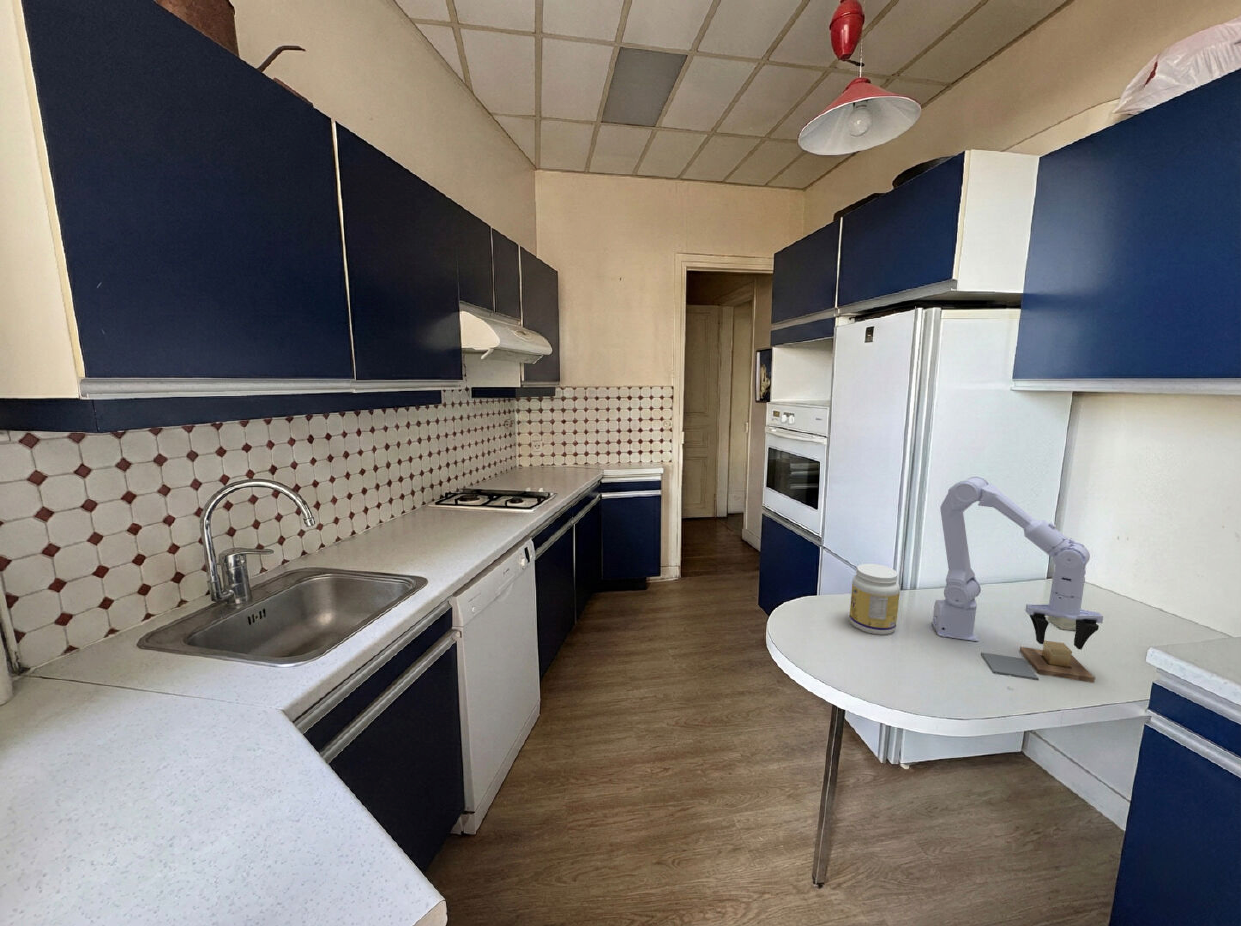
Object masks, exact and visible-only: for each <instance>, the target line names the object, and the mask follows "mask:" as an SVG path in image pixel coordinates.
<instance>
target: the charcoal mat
mask: <svg viewBox="0 0 1241 926" xmlns="http://www.w3.org/2000/svg"><path fill="white" fill-rule="evenodd" d="M980 655H981V656H982V658H983V660H984V661H985V663H986V664H987V666H988V667H989V670H991V672H992V673H993V674H997V675H1003V676H1009V675H1011V676H1010V677H1015V678H1023V679H1029V680H1035V681H1039V677H1038V676H1037V675H1036V673H1035V672H1034V671H1033V669H1032V668H1031V667H1030V665H1028V663H1027V662H1026V661H1025V659H1024V658H1023V657H1017V656H1009V655H1002V654H997V653H996V654H995V653H990V652H984V651H983V652H982V651H981V652H980Z"/></svg>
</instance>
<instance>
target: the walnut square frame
mask: <svg viewBox="0 0 1241 926" xmlns="http://www.w3.org/2000/svg"><path fill="white" fill-rule="evenodd" d="M1019 652H1020V653H1021V655H1022V656H1023V657H1024V658H1025V660H1026V661H1027V662H1028V663H1029V664H1030V665H1032V666H1031V667H1032V668H1033V669H1034V671H1035V670H1036V671H1037V672H1036V671H1035V672H1036V673H1037V674H1038V675H1044V676H1049V675H1050V677H1056V678H1062V679H1063V678H1064V679H1069V680H1073V681H1074V680H1075V681H1082V682H1088V683H1095V678H1096V677H1094V675H1092V674H1091V673H1090V671H1089V670H1088V669H1086V667H1085V666H1084V665H1083V664H1082V663H1081V662H1079V660H1078V659H1077V658H1076V657H1074V656H1073V654H1072V655H1071V661H1070V667H1069V668H1065V667H1058V666H1052V665H1048V664H1047V663H1046V662H1045V661H1044V660H1043V658H1042V652H1043V649H1038V648H1031V647H1024V646H1019Z"/></svg>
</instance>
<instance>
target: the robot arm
mask: <svg viewBox="0 0 1241 926" xmlns="http://www.w3.org/2000/svg"><path fill="white" fill-rule="evenodd" d="M976 502H978V504H977V506H979V507H988V508H994V509H995V510H996V511H998V512H999V513H1000V514H1002V515H1003V516H1005V517H1006V518H1007V519H1009V520H1010V521H1012V522H1013V523H1014V524H1016V525H1017V526H1019V527H1020V528H1022V529H1023V533H1024V537H1025V538H1026V539H1028V540H1029V541H1030V542H1031V543H1032V544H1034V545H1035V546H1037V548H1039V549H1040V550H1042V551H1043V553H1046V554H1047V555H1048V556H1050V557H1052V561H1053V563H1054V565H1055V567H1054V571H1053V572H1052V573H1053V574H1052V580H1051V585H1050V592H1049V593H1050V594H1049V601H1048V604H1030V603H1026V604H1025V613H1026V614H1028V615H1029V617H1030V620H1031V622H1032V625H1033V628H1034V631H1035V639H1036V640H1035V641H1037V642H1038V644H1040V645H1044V641H1045V637H1046V631H1047V628H1048V625H1049V623H1050V621H1049V620H1048V619H1047V617H1048V616H1053V617H1061V618H1066V619H1070V620H1076V630H1075V633H1074V638H1073V639H1074V640H1073V646H1074V647H1076V649H1077V650H1080V651H1081V650H1082V649H1083V648H1084V646H1085V644H1086V643H1087V642H1088V639H1089V638H1090V637H1091V636H1092V635H1093V634H1094V633H1096V632H1097V631H1098V630H1099V627H1100V625H1098V624H1103V620H1104V615H1102V614H1101V613H1100V612H1099V611H1098V612H1097V611H1092V610H1091V611H1090V610H1086V609H1082V603H1081V602H1082V601H1083V595H1084V590H1085V589H1084V588H1085V583H1086V577H1085V575H1086V569H1087V568H1086V566H1087V564H1088V563H1089V561H1090V559H1091V555H1090V554H1091V553H1090V551H1089V550H1088V549H1087V547H1085V545H1084V544H1083V543H1081V542H1076V540H1075V539H1073V538H1068V537H1067V536H1066V535H1064V534H1063V533H1062V532H1061V531H1060V530H1058V529H1057V528H1056V527H1057V525H1056V524H1054V523H1053V522H1052V521H1050V522H1049V523H1048V521H1046V520H1040V519H1039V520H1038V519H1035V518H1033V517H1032V515H1030V514H1028V512H1026V511H1025V510H1024V509H1023V508H1021V507H1020V506H1019V505H1018V504H1017V503H1016V502H1014V501H1013V500H1012V499H1011V498H1010V497H1008V496H1007V495H1005V494H1004V492H1002V491H1001V490H1000V488H998V487H997V486H995V484H992V483H989V482H988V481H987V480H986V479H985V478H983V477H980V476H971V477H968V478H967V479H965V480H961V481H958V482H956V483H955V484H954V485H952V486H951V487H949V489H948V491H947V494H946V495H945V498H943V500H942V503H941V505H940V510H939V511H940V515H941V516H940V518H941V523H942V530H943V538H944V547H945V551H946V552H945V553H946V559H947V567H948V571H947V575H946V578H945V583H946V584H945V588H944V589H943V596H944V599H935V602H934V605H933V615H932V622H931V625H932V626H933V629H934V630H935V631H936V634H937V635H938V636H939V637H943V638H944V637H945V638H951V639H952V638H953V639H959V640H965V641H973V642H979V639H978V637H977V636H976V634H975V633H974V630H975V622H976V614H977V605H978V604H977V602H976V601H977V600H976V598H977V597H978V596H979V595H980V594H981V591H982V590H981V589H982V588H981V585H980V583H979V582H978V580H977V579H976V574H975V572H974V570H973V569H972V568H971V559H970V553H969V552H970V551H969V545H968V537H967V529H966V524H965V516H964V513H965V511H967V509H969V507H971V506H972V505H973V504H975V503H976ZM1080 608H1081V609H1080ZM1046 616H1047V617H1046Z"/></svg>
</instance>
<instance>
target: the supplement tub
mask: <svg viewBox="0 0 1241 926" xmlns="http://www.w3.org/2000/svg"><path fill="white" fill-rule="evenodd" d="M898 575H899V574H898V572H897V571H896V570H895V569H893V568H891V567H888V566H885V565H881V564H876V563H863V564H859V565H857V567H856V571H855V575H854V576H853V578H852V583H851V594H850V595H851V596H850V605H849V621H850V623H851V624H852V625H853V626H854V627H855V628H857V629H858V628H859V630H860V629H861V631H863V632H865V633H869V634H872V633H873V634H874V635H890V634H892V633H894V632H895V631H896V628H897V621H898V612H899V604H900V603H899V602H900V594H901V593H900V592H901V586H900V584H899V582H898V580H899V578H898Z"/></svg>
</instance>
